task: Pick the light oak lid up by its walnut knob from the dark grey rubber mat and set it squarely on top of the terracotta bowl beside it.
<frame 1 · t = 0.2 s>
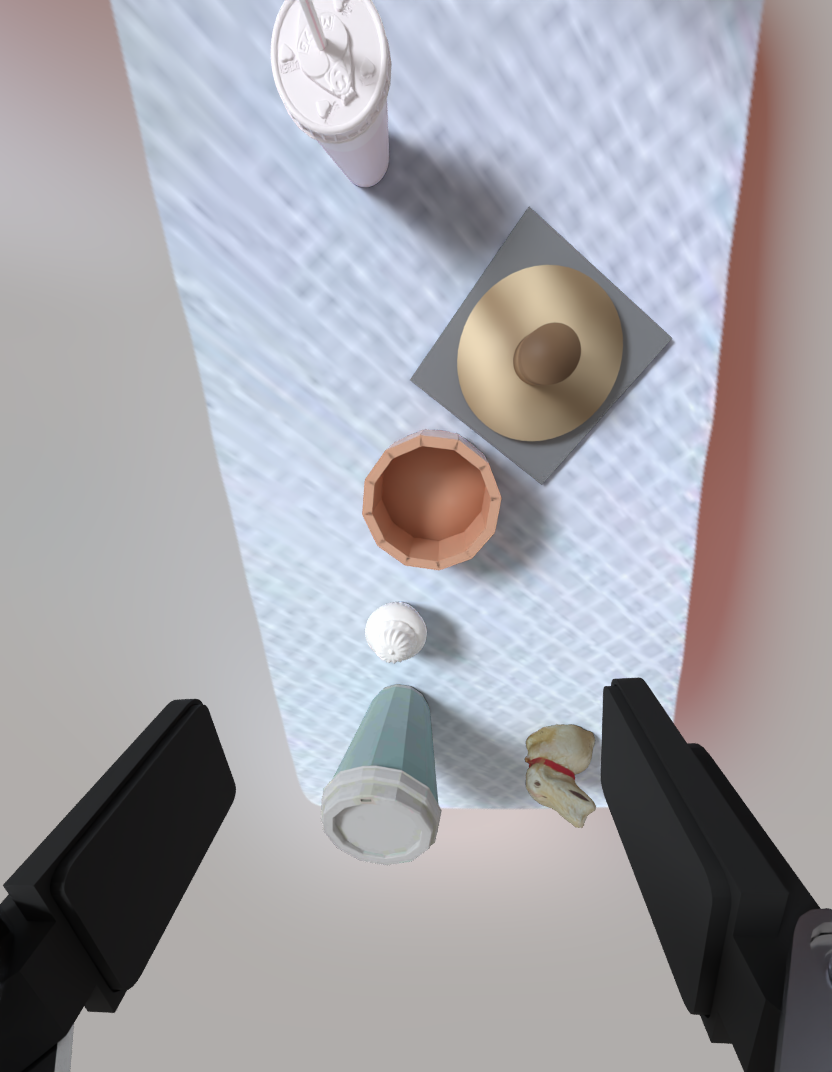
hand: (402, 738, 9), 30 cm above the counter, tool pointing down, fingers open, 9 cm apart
mat: (534, 360, 34), on the counter
white cupcake: (400, 613, 44), on the counter
disposable coffee cup: (398, 704, 48), on the counter
smoothie: (365, 158, 30), on the counter
bowl: (433, 489, 38), on the counter
chocolate bunny: (554, 738, 48), on the counter
lid: (535, 359, 34), resting on mat
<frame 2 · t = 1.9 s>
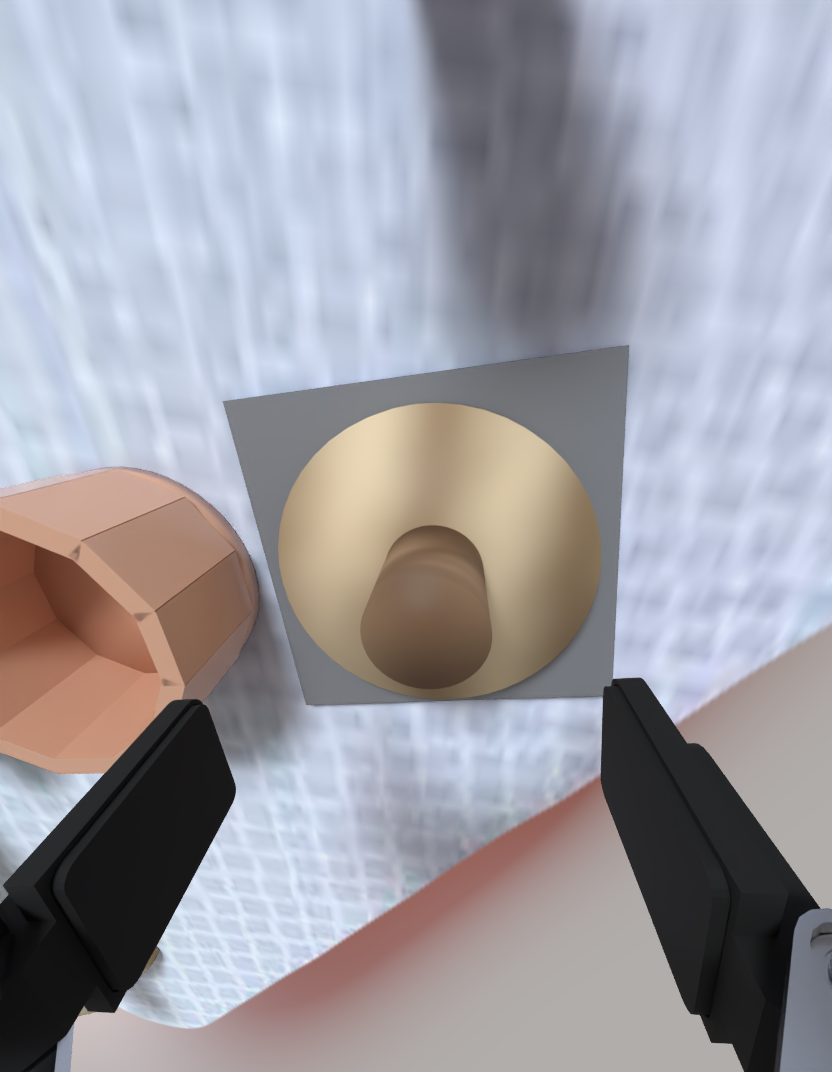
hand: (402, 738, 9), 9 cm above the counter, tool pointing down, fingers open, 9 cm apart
mat: (435, 556, 18), on the counter
bowl: (149, 579, 20), on the counter
lid: (434, 561, 17), resting on mat
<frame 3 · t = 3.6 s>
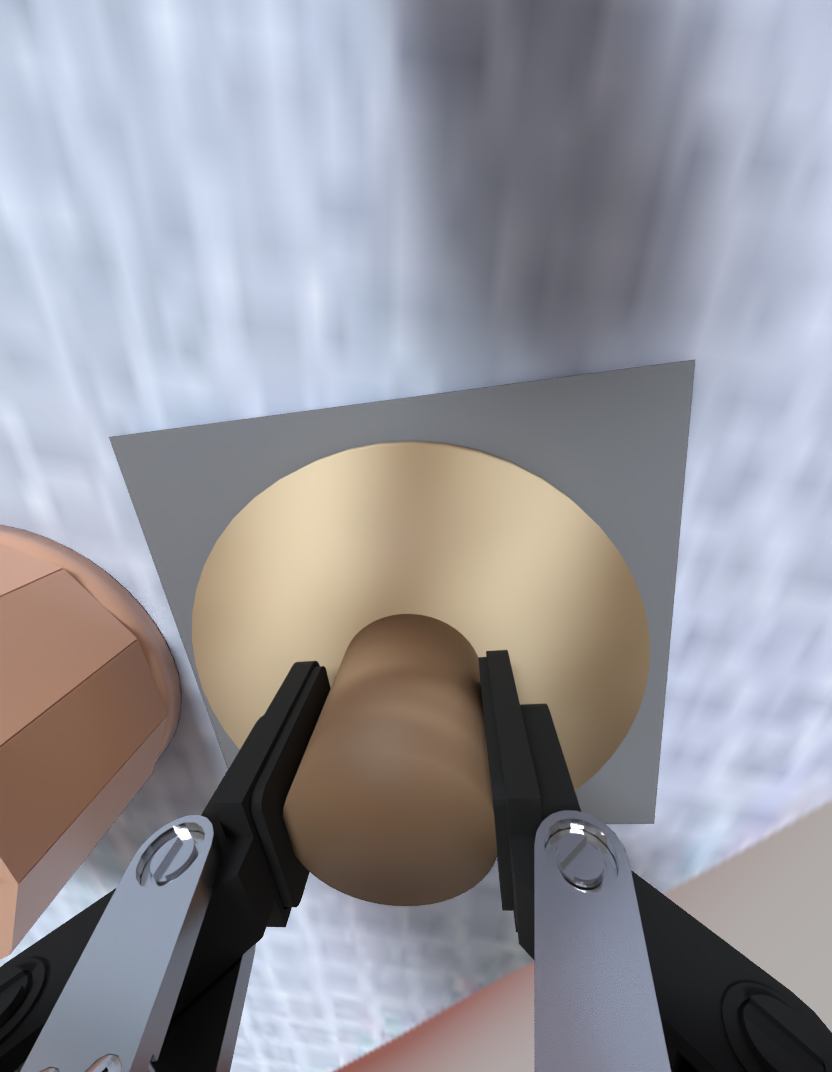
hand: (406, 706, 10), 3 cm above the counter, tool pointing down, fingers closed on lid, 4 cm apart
mat: (415, 644, 13), on the counter
bowl: (33, 667, 15), on the counter
lid: (414, 653, 13), point 1 cm above the counter, touching gripper, mat
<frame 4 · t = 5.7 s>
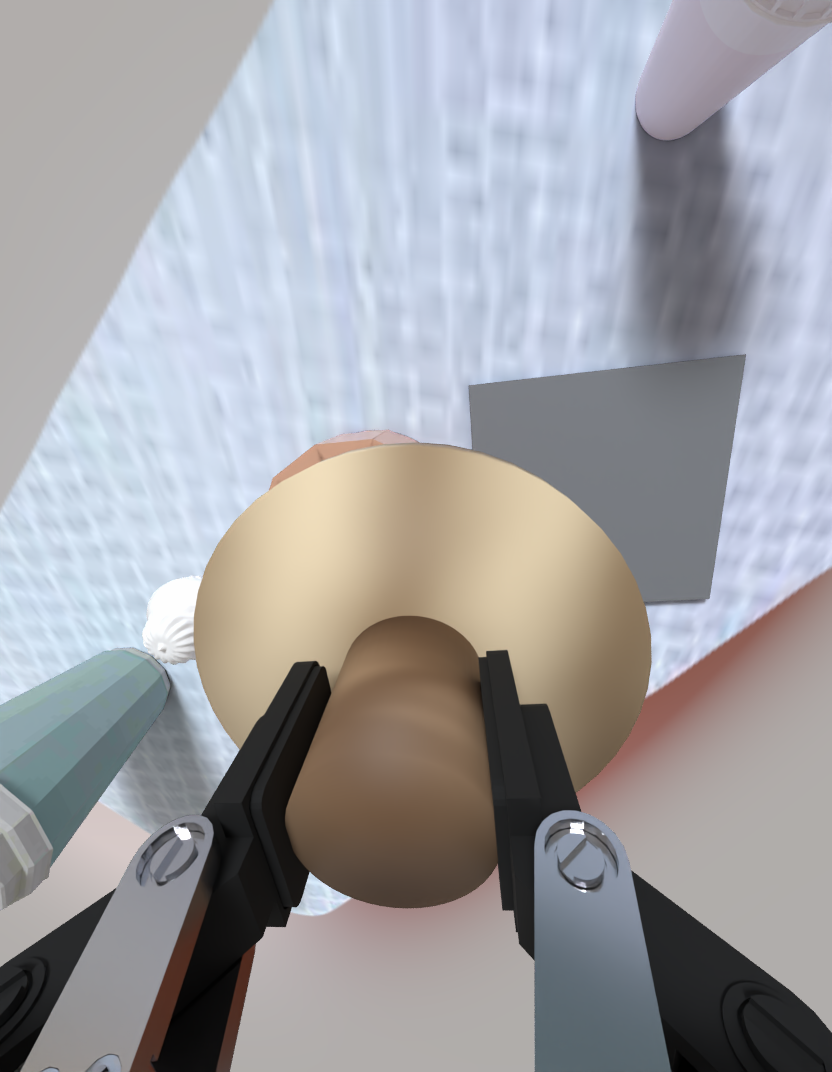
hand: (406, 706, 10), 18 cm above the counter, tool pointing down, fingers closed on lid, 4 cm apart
mat: (594, 496, 26), on the counter
white cupcake: (222, 594, 31), on the counter
disposable coffee cup: (134, 674, 34), on the counter
smoothie: (674, 94, 19), on the counter
bowl: (379, 513, 27), on the counter
lid: (415, 655, 13), point 16 cm above the counter, touching gripper
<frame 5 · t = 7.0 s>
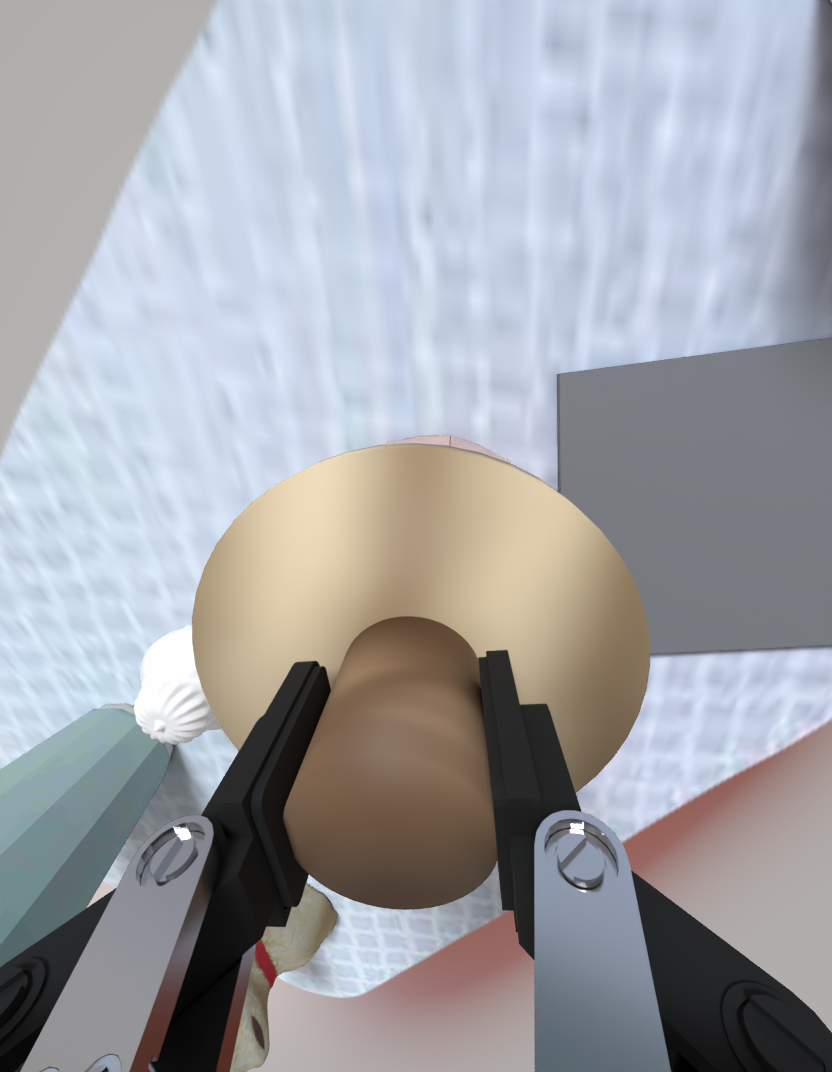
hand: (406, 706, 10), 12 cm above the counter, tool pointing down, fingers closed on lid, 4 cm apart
mat: (715, 516, 20), on the counter
white cupcake: (235, 640, 25), on the counter
disposable coffee cup: (129, 733, 29), on the counter
bowl: (432, 540, 22), on the counter
chocolate bunny: (291, 891, 33), on the counter
lid: (414, 656, 13), point 10 cm above the counter, touching gripper
when the fingers open (10 cm above the counter, at t = 8.1 s): lid drops 1 cm, resting on bowl.
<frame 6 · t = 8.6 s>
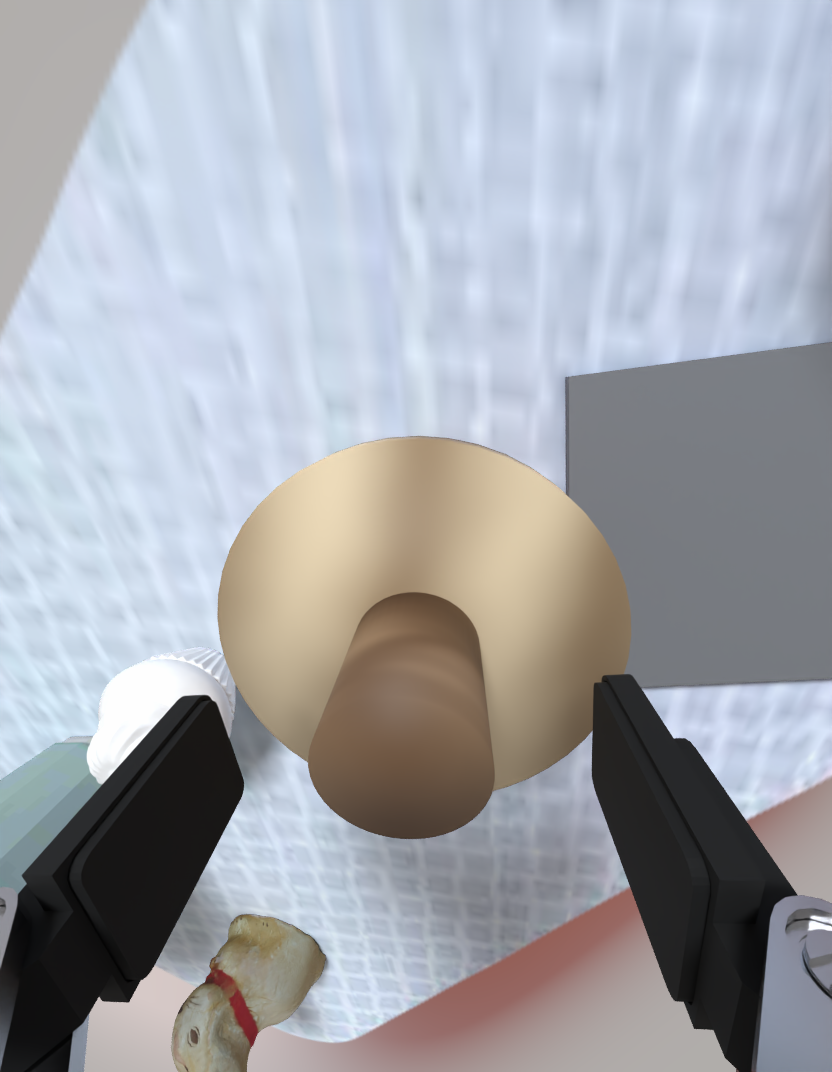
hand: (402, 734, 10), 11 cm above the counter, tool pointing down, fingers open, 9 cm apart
mat: (742, 535, 18), on the counter
white cupcake: (210, 668, 23), on the counter
disposable coffee cup: (97, 767, 26), on the counter
chocolate bunny: (275, 933, 31), on the counter
lid: (418, 631, 14), point 6 cm above the counter, touching bowl
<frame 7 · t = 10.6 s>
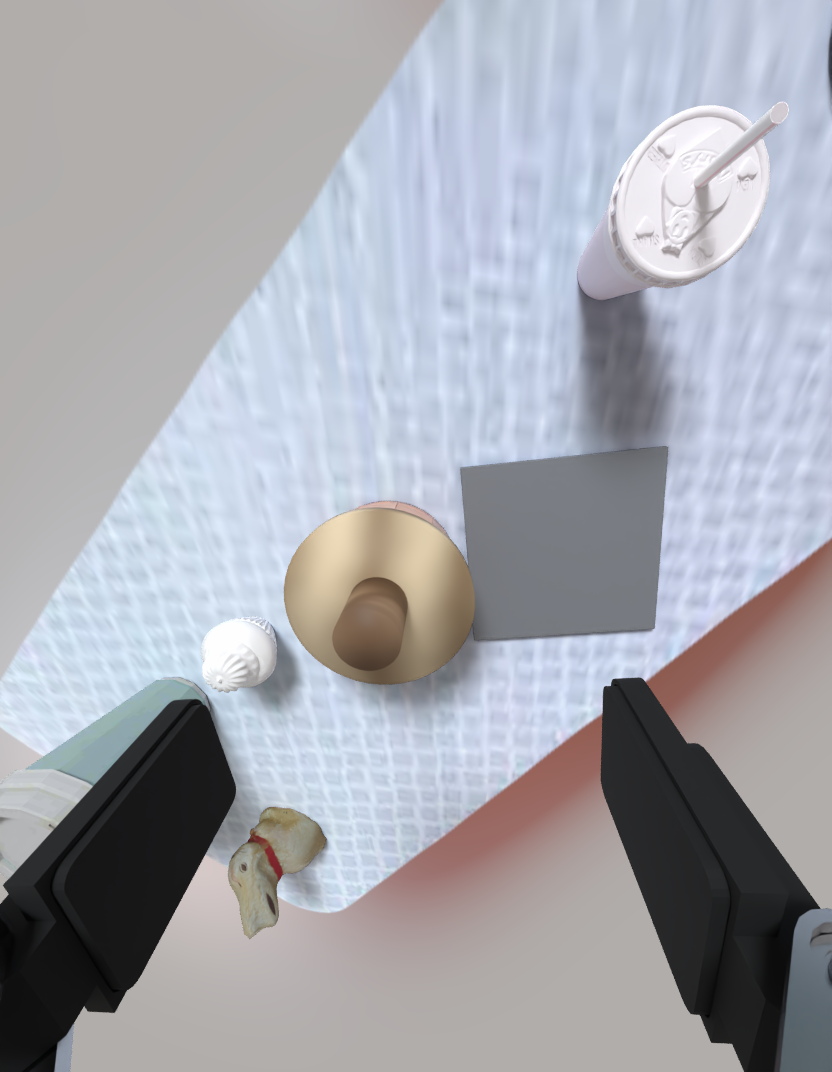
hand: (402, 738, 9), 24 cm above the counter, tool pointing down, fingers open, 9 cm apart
mat: (560, 550, 33), on the counter
white cupcake: (258, 630, 37), on the counter
disposable coffee cup: (178, 699, 40), on the counter
smoothie: (604, 269, 27), on the counter
bowl: (390, 564, 34), on the counter
chocolate bunny: (291, 822, 45), on the counter
lid: (380, 597, 28), point 6 cm above the counter, touching bowl
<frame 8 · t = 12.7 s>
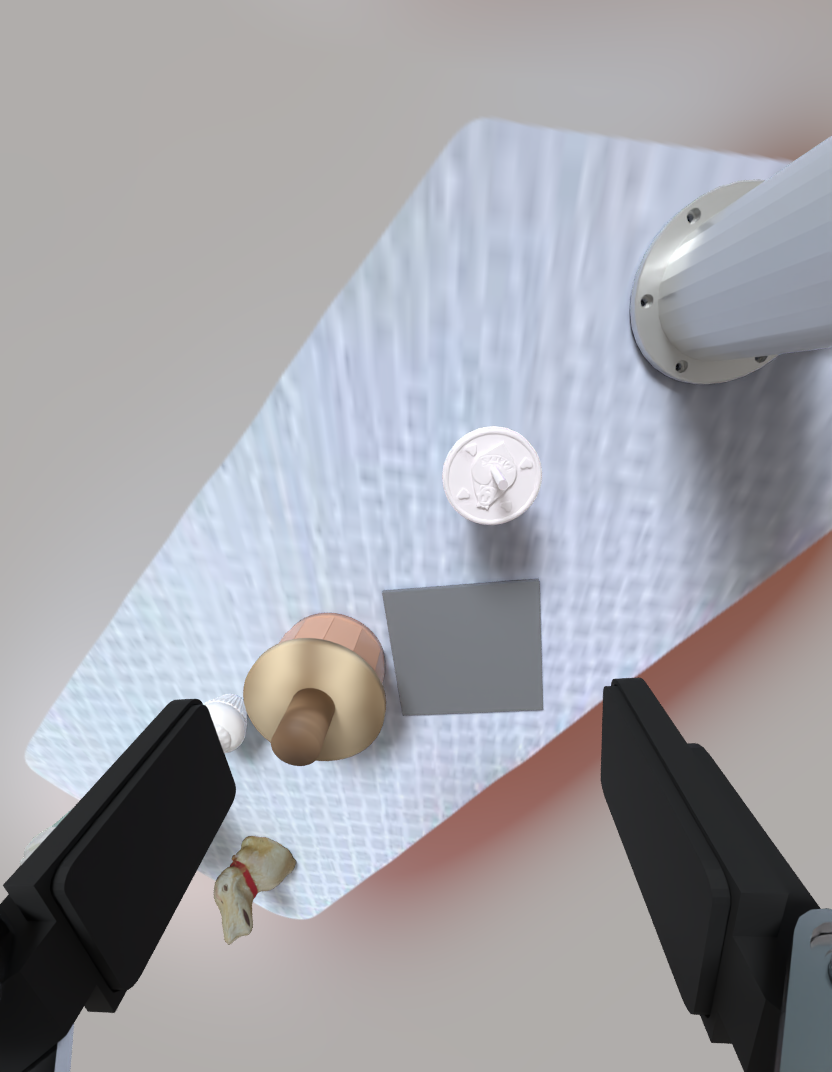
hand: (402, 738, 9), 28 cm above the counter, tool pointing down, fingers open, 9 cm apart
mat: (465, 650, 42), on the counter
white cupcake: (234, 703, 47), on the counter
disposable coffee cup: (173, 753, 50), on the counter
smoothie: (481, 456, 35), on the counter
bowl: (333, 658, 43), on the counter
chocolate bunny: (267, 848, 55), on the counter
lid: (316, 698, 38), point 6 cm above the counter, touching bowl
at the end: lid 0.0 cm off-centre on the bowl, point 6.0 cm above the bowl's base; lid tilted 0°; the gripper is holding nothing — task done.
